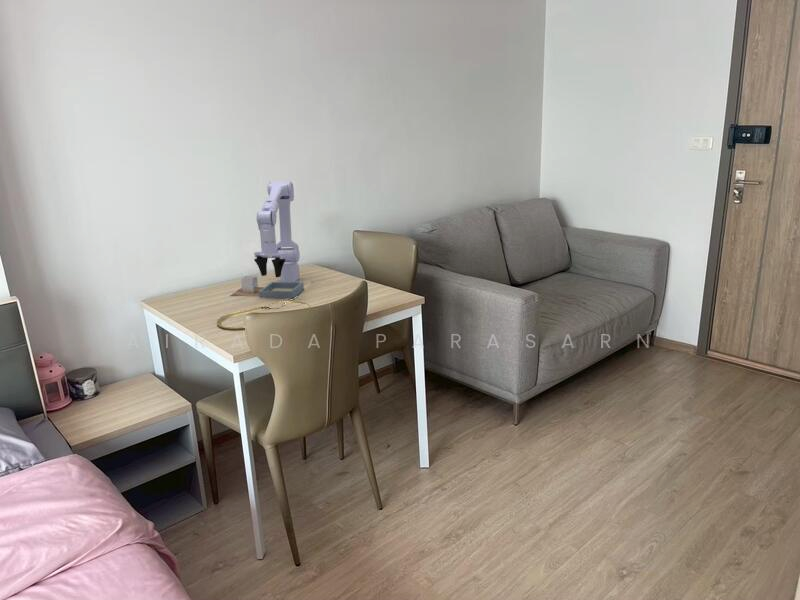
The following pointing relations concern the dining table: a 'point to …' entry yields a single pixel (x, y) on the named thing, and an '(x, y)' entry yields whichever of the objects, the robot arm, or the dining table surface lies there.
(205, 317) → the dining table surface
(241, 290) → the stud base
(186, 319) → the dining table surface
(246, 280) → the metal block
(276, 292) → the bin
